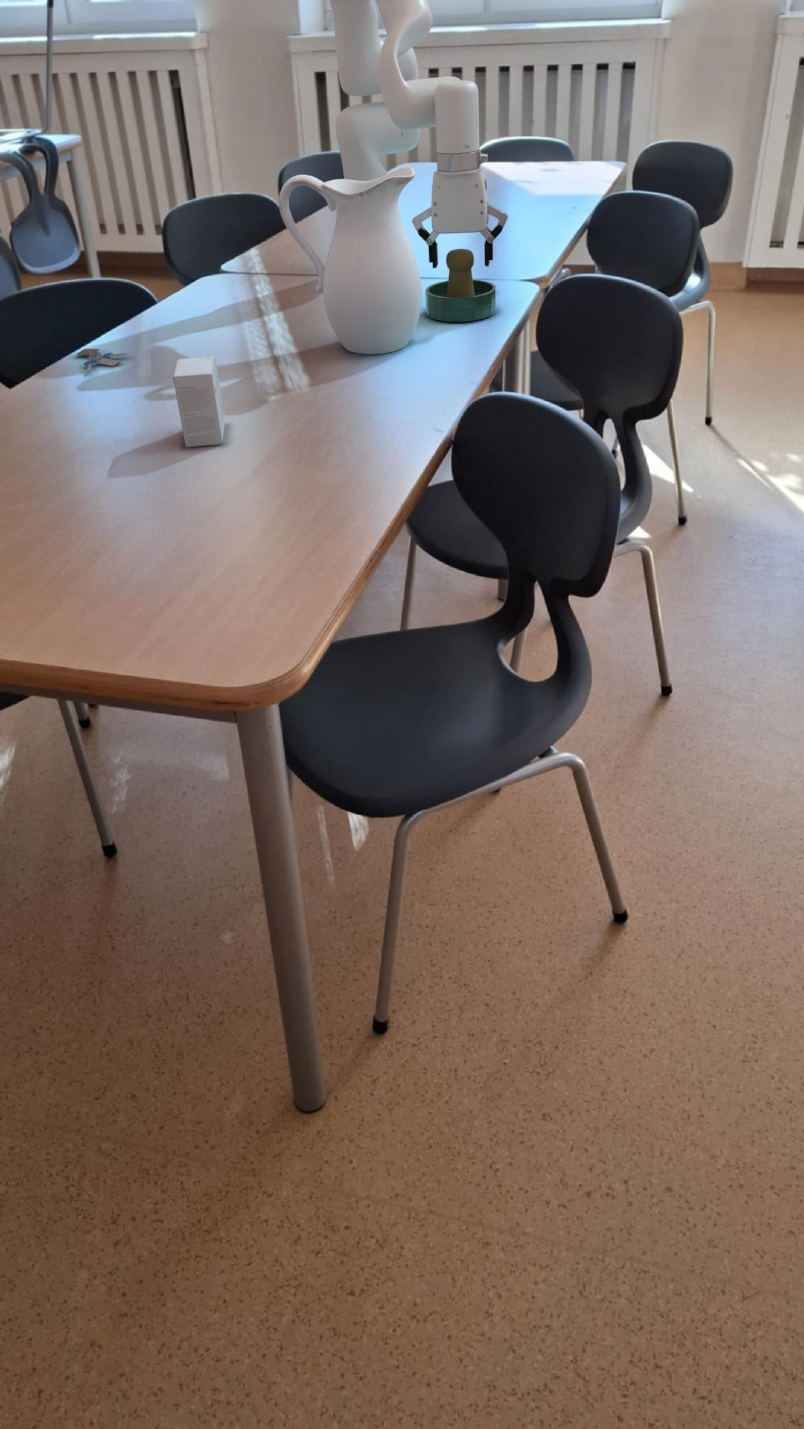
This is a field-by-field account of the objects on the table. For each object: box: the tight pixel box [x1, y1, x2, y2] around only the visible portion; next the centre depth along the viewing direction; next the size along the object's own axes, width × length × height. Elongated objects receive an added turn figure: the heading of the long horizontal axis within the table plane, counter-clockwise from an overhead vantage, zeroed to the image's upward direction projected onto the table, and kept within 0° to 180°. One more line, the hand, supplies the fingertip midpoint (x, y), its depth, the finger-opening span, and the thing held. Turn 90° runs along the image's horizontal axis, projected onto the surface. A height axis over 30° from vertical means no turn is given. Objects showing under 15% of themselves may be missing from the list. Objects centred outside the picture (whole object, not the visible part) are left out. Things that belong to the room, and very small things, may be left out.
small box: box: [172, 356, 226, 448], centre depth 155 cm, size 8×6×10 cm
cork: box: [445, 248, 475, 298], centre depth 199 cm, size 6×6×11 cm
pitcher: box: [278, 165, 423, 355], centre depth 182 cm, size 24×17×28 cm
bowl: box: [424, 279, 497, 323], centre depth 201 cm, size 13×13×4 cm
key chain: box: [76, 348, 128, 373], centre depth 190 cm, size 14×8×1 cm, turn 23°
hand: (461, 265), depth 197 cm, fingers open, 9 cm apart
